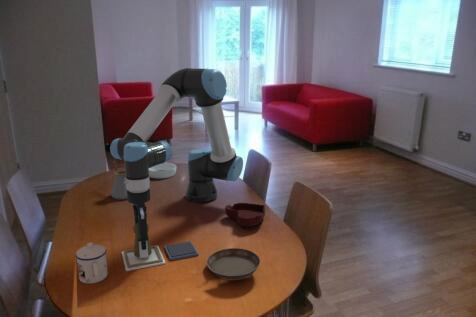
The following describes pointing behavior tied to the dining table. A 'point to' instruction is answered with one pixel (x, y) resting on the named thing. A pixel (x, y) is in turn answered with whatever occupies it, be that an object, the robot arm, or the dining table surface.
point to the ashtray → (246, 213)
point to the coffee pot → (119, 185)
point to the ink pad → (181, 250)
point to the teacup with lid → (92, 263)
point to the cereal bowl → (158, 174)
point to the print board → (142, 259)
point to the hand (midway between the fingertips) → (142, 252)
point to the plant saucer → (233, 263)
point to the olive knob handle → (136, 248)
